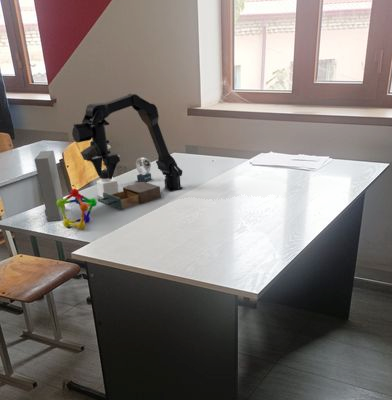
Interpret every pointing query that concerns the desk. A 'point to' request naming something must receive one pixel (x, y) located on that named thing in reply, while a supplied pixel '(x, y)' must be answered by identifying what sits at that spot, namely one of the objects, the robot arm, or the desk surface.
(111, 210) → the desk surface
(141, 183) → the cabinet
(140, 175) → the snow globe
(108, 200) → the drawer
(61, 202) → the educational toy
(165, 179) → the robot arm
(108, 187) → the medicine bottle
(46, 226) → the desk surface
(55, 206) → the tall grey pillar
